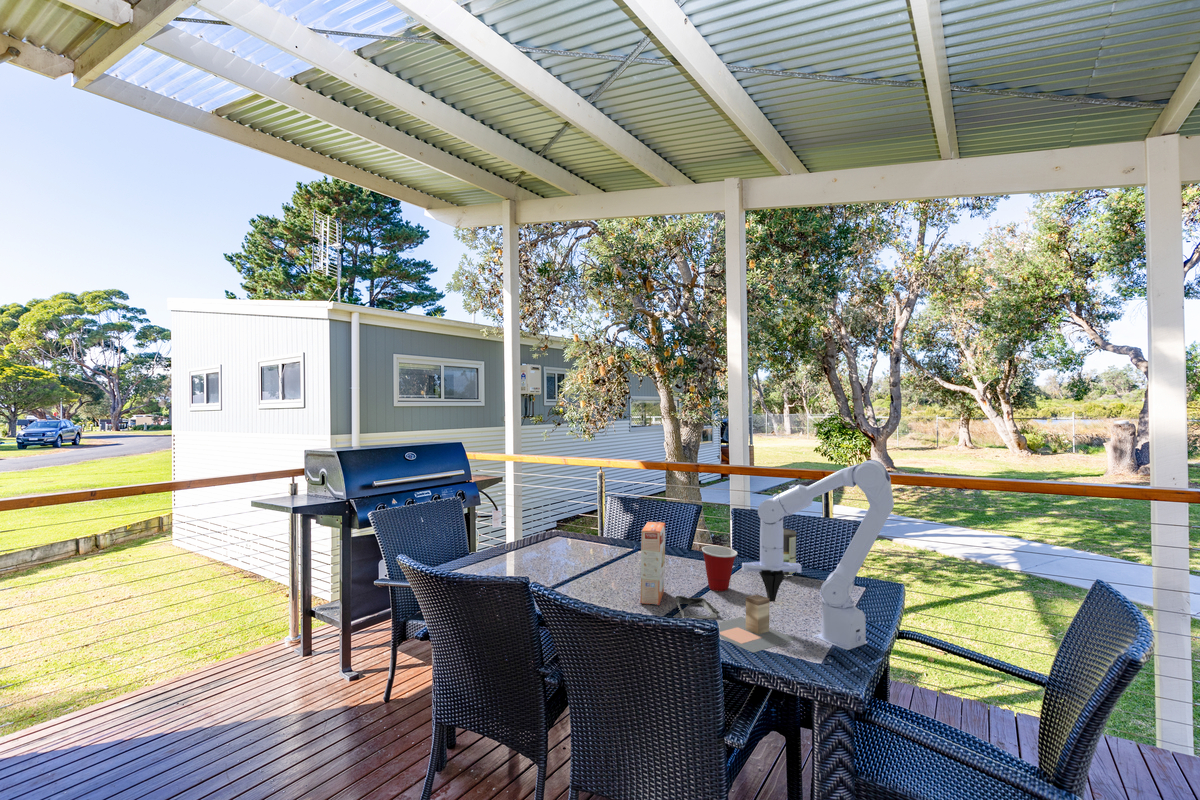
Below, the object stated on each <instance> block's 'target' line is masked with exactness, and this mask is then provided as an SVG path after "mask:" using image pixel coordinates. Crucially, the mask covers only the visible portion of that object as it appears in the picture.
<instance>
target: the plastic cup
mask: <svg viewBox="0 0 1200 800" xmlns="http://www.w3.org/2000/svg"><path fill="white" fill-rule="evenodd" d="M701 551H702V553H703V560H704V565H705V571H706V572H705V573H706V578H707V583H708V585H707V586H708V588H709V590H712V591H716V592H726V591H728V590H729V587H730V582H731V578H732V571H733V567H734V562H735V559H736V557H737V556H738V551H736V550H735V549H733V548H729V547H727V546H722V545H706V546H703V547H701ZM727 589H728V590H727ZM725 590H726V591H725Z"/></svg>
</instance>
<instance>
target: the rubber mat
mask: <svg viewBox="0 0 1200 800" xmlns="http://www.w3.org/2000/svg"><path fill="white" fill-rule="evenodd" d="M718 623H719V625H720V637H721V638H720V639H722V640H724V641H727V643H731V644H733V645H735V646H737V647H739V648H741V649H743V650H746V651H748V652H749V653H759V652H761V651H763V650H766V649H767V650H768V649H769V648H770V649H771V648H773V647H776V646H779V645H783V644H786V643H789V642H793V641H796V640H797V638H795V637H793V636H791V635H788V634H785V633H783V632H780V631H777V630H775V629H773V628H770V627H769V631H768V632H765V633H761V634H756V633H753V632H751V631H749V630H746V617H743V616H739V617H738V616H737V617H735V618H731V619H727V620H724V621H720V622H718Z"/></svg>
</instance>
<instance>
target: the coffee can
mask: <svg viewBox="0 0 1200 800" xmlns="http://www.w3.org/2000/svg"><path fill="white" fill-rule="evenodd" d="M783 530H784V531H783V562H788V563H797V562H796V561H797V557H796V556H797V531H796V530H793V529H790V528H785V527H783ZM793 573H795V572H783V574H784V576H788V575H792V574H793Z"/></svg>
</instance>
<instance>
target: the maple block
mask: <svg viewBox="0 0 1200 800" xmlns="http://www.w3.org/2000/svg"><path fill="white" fill-rule="evenodd" d="M745 618H746V630H749V631H751V632H753V633H756V634H761V633H765V632H768V631H769V628H770V601H769V598H767V596H764V595H763V596H762V595H759V594H753V595H750V596H746V597H745Z"/></svg>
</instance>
